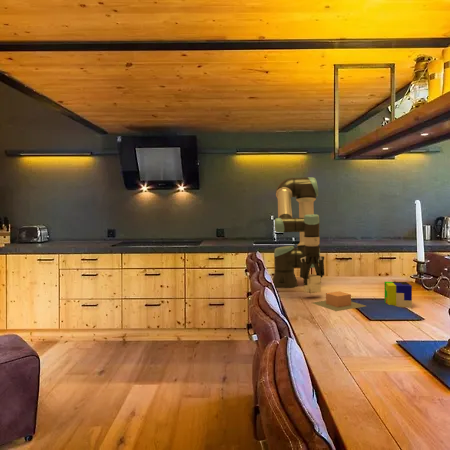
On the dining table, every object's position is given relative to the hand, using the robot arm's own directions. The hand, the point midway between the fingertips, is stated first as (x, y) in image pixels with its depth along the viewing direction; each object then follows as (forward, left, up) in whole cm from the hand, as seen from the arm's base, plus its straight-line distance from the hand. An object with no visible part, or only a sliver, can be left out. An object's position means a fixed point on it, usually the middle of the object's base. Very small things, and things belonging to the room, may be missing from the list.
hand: (312, 290), depth 206 cm
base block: (+17, +2, -3) cm, 18 cm away
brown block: (0, 0, 0) cm, 0 cm away
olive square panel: (+17, +2, -4) cm, 18 cm away
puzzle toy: (+28, +28, -5) cm, 40 cm away
